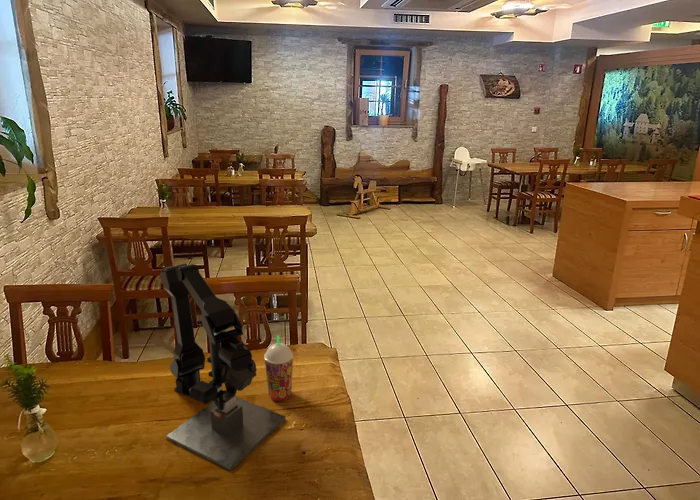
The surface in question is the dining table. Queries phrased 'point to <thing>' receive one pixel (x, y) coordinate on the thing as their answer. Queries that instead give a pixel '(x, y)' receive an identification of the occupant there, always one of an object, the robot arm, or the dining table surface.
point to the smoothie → (279, 371)
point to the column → (228, 403)
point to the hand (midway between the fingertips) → (226, 405)
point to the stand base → (226, 432)
